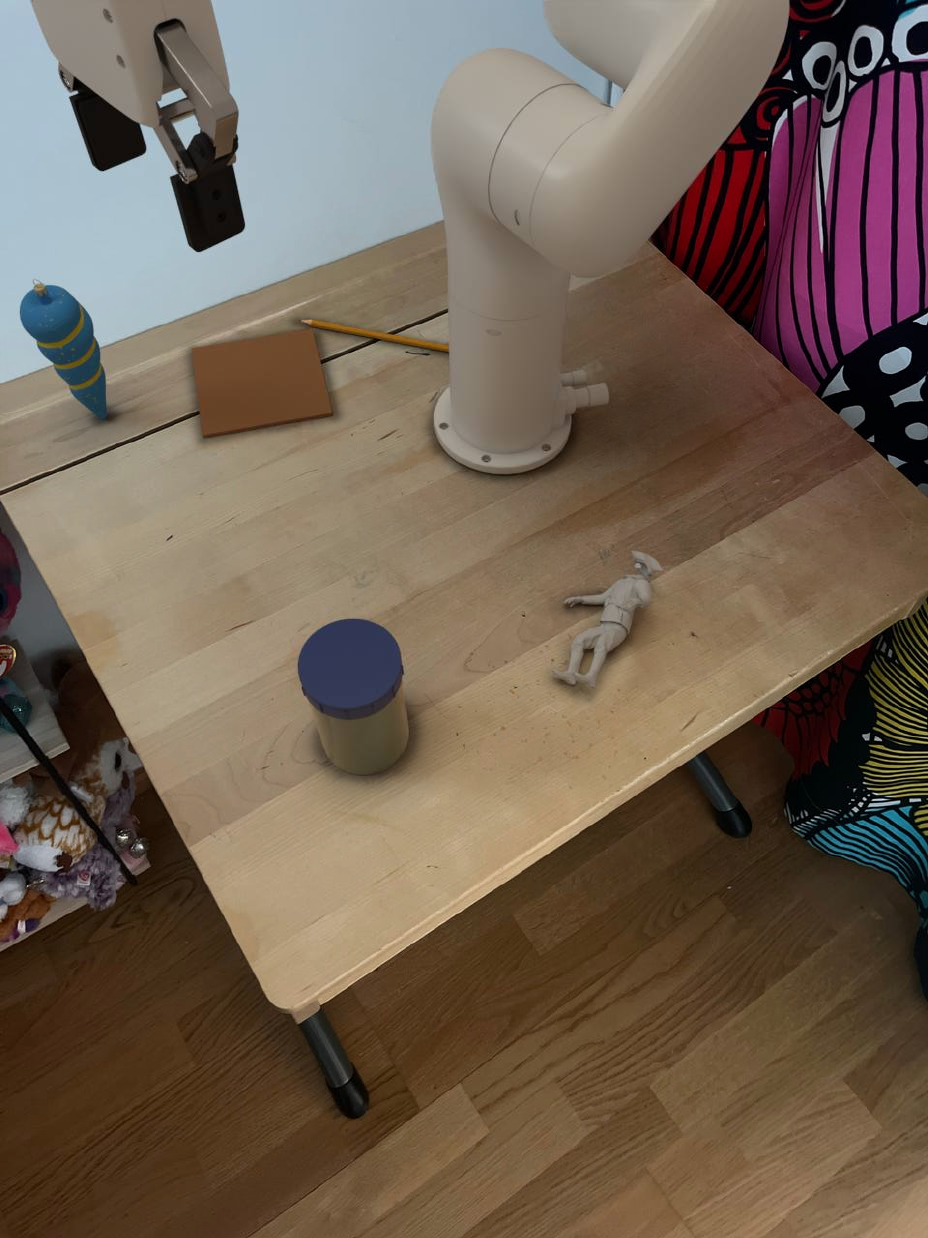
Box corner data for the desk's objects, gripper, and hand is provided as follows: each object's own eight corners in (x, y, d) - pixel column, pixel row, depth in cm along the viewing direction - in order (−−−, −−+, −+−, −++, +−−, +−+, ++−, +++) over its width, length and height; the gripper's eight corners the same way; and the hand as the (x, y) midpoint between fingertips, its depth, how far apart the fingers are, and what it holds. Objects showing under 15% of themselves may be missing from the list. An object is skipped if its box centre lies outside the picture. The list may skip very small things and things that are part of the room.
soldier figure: (526, 669, 72) (583, 535, 74) (569, 694, 74) (623, 564, 76) (590, 680, 65) (651, 532, 67) (635, 707, 67) (692, 563, 70)
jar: (399, 688, 70) (389, 614, 61) (416, 764, 66) (409, 697, 57) (315, 706, 69) (293, 634, 60) (329, 784, 65) (308, 719, 57)
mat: (313, 331, 92) (312, 328, 91) (332, 415, 85) (332, 412, 85) (192, 351, 90) (191, 348, 90) (203, 438, 84) (202, 435, 83)
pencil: (480, 355, 90) (480, 348, 89) (478, 360, 89) (478, 353, 89) (299, 321, 93) (298, 314, 92) (297, 325, 92) (296, 319, 92)
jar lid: (392, 622, 62) (390, 609, 61) (412, 707, 58) (411, 695, 57) (294, 642, 61) (290, 629, 60) (309, 730, 58) (305, 718, 56)
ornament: (116, 441, 84) (53, 305, 71) (63, 433, 84) (-8, 296, 72) (138, 401, 86) (81, 263, 74) (87, 394, 87) (22, 256, 74)
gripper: (261, -174, 33) (319, 243, 48) (33, -282, 40) (144, 111, 55) (76, -121, 31) (197, 305, 45) (-134, -247, 38) (28, 157, 52)
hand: (167, 198), depth 50 cm, fingers open, 9 cm apart
